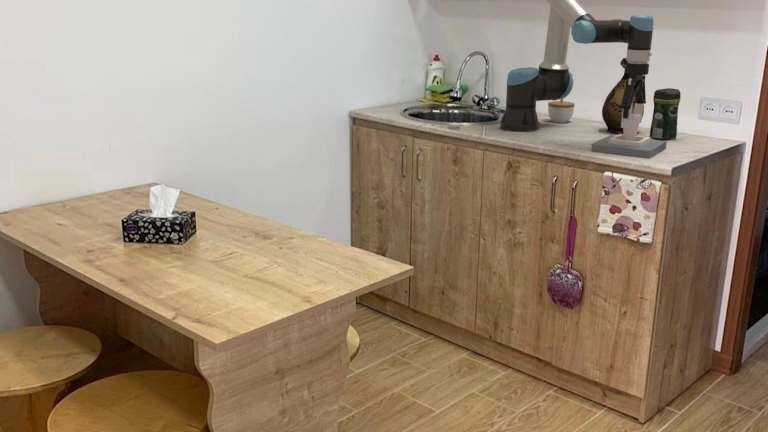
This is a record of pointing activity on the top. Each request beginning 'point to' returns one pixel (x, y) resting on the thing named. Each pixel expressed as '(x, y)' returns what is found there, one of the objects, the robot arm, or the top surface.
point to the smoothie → (632, 127)
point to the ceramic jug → (616, 104)
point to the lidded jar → (560, 111)
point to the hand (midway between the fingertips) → (631, 125)
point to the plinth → (629, 146)
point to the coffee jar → (665, 114)
